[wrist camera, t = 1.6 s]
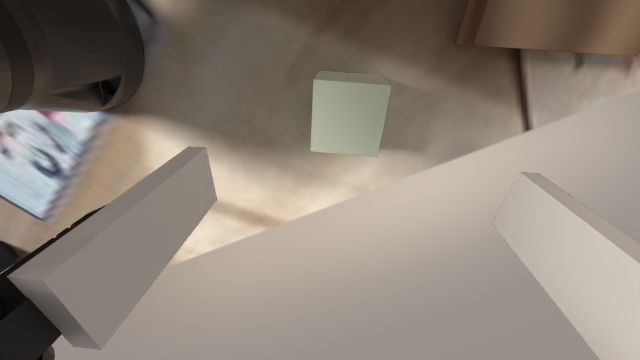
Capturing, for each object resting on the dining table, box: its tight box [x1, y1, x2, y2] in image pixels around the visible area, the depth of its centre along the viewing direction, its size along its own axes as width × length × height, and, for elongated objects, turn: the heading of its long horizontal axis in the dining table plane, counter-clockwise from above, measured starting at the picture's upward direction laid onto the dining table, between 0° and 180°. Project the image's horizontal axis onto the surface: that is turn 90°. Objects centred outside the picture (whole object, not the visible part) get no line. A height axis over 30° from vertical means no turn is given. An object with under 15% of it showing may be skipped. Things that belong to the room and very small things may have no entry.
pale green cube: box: [310, 71, 392, 157], centre depth 23 cm, size 6×6×6 cm
